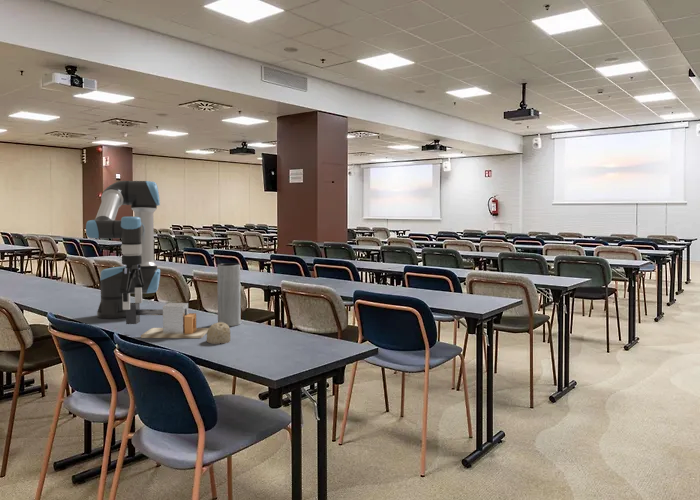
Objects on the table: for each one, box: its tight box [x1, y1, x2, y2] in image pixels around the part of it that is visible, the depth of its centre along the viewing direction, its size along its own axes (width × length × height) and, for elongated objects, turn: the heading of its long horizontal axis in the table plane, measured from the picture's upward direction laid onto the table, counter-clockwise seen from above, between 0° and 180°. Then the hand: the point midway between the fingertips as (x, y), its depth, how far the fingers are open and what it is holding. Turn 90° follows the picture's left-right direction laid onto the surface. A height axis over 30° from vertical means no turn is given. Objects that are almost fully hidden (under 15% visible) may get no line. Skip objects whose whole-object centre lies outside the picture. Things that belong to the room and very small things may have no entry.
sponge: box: [206, 322, 231, 345], centre depth 214 cm, size 9×10×10 cm
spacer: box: [184, 312, 197, 334], centre depth 225 cm, size 3×7×7 cm, turn 2°
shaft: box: [125, 302, 163, 325], centre depth 224 cm, size 22×4×8 cm, turn 92°
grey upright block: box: [162, 302, 189, 334], centre depth 225 cm, size 8×8×11 cm
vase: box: [216, 262, 242, 327], centre depth 245 cm, size 10×10×27 cm
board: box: [140, 327, 210, 339], centre depth 225 cm, size 24×14×1 cm, turn 92°
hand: (132, 306), depth 224 cm, fingers open, 13 cm apart
